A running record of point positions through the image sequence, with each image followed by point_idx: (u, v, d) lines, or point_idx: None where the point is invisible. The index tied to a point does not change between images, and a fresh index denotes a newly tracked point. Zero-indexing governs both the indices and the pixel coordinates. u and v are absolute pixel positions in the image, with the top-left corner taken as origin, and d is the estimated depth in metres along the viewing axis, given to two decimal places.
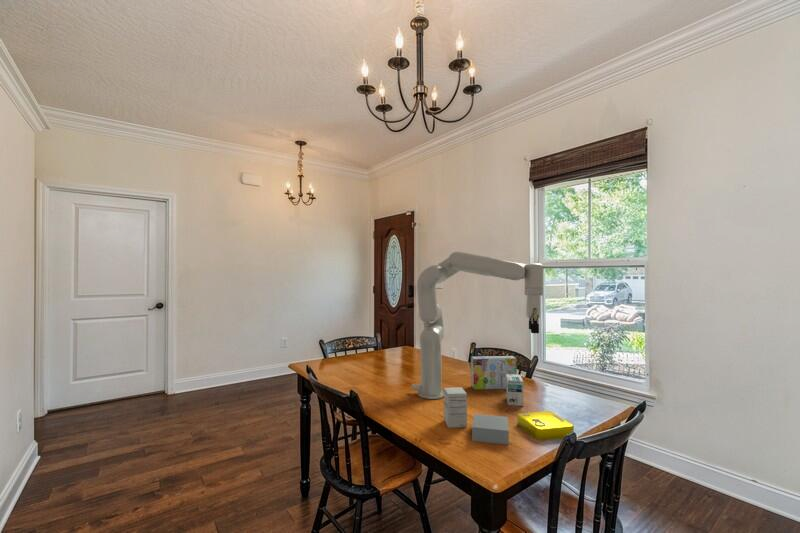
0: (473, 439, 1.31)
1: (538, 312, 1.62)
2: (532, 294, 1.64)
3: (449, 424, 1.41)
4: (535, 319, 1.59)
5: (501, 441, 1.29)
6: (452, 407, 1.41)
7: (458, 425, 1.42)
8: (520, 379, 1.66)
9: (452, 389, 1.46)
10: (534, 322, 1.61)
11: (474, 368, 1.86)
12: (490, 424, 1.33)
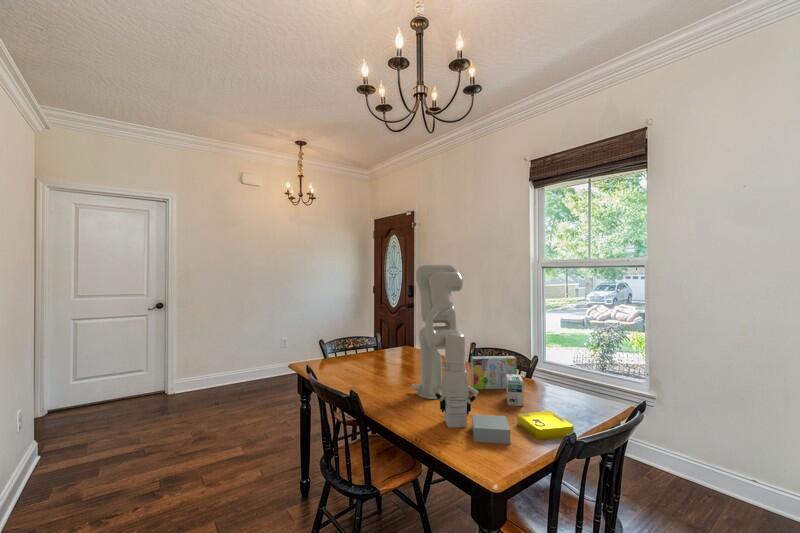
0: (475, 440, 1.30)
1: None
2: (464, 370, 1.43)
3: (449, 424, 1.41)
4: (475, 397, 1.43)
5: (503, 441, 1.29)
6: (452, 407, 1.41)
7: (458, 425, 1.42)
8: (520, 379, 1.66)
9: None
10: None
11: (474, 368, 1.86)
12: (490, 424, 1.33)
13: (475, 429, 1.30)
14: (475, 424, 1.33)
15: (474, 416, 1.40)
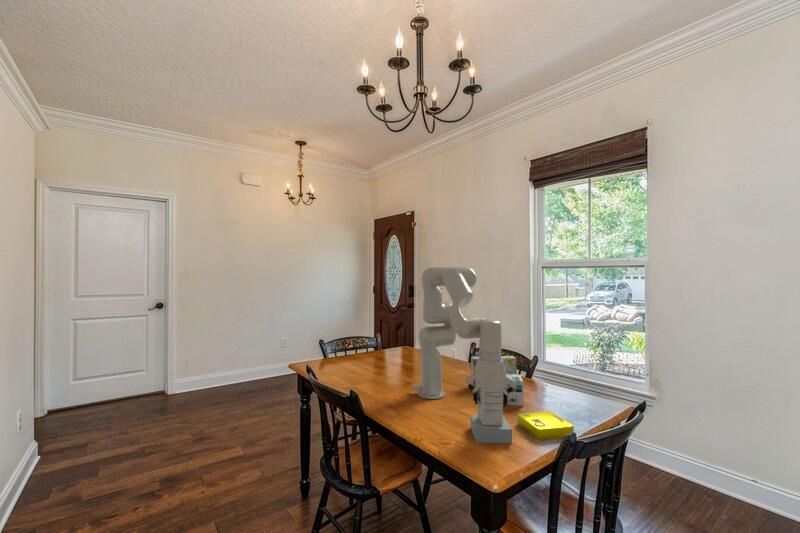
0: (477, 441, 1.29)
1: None
2: (501, 359, 1.34)
3: (484, 421, 1.32)
4: (513, 388, 1.33)
5: (505, 440, 1.29)
6: (487, 403, 1.32)
7: (493, 423, 1.32)
8: (520, 379, 1.66)
9: None
10: None
11: (474, 368, 1.86)
12: None
13: (477, 430, 1.29)
14: (476, 425, 1.32)
15: (473, 417, 1.40)
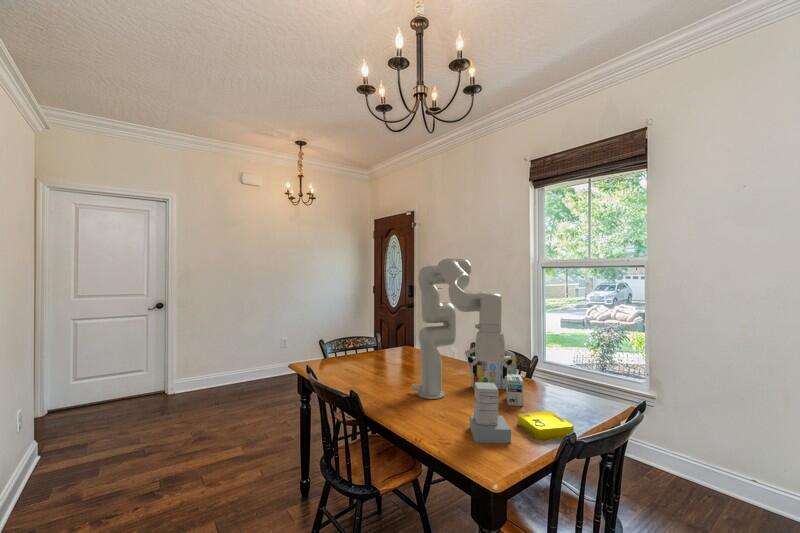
0: (476, 441, 1.30)
1: None
2: (500, 331, 1.34)
3: (478, 421, 1.33)
4: (512, 361, 1.34)
5: (504, 440, 1.29)
6: (482, 403, 1.33)
7: (488, 423, 1.33)
8: (520, 379, 1.66)
9: (483, 384, 1.37)
10: None
11: None
12: None
13: (476, 430, 1.30)
14: (475, 425, 1.32)
15: (472, 417, 1.40)
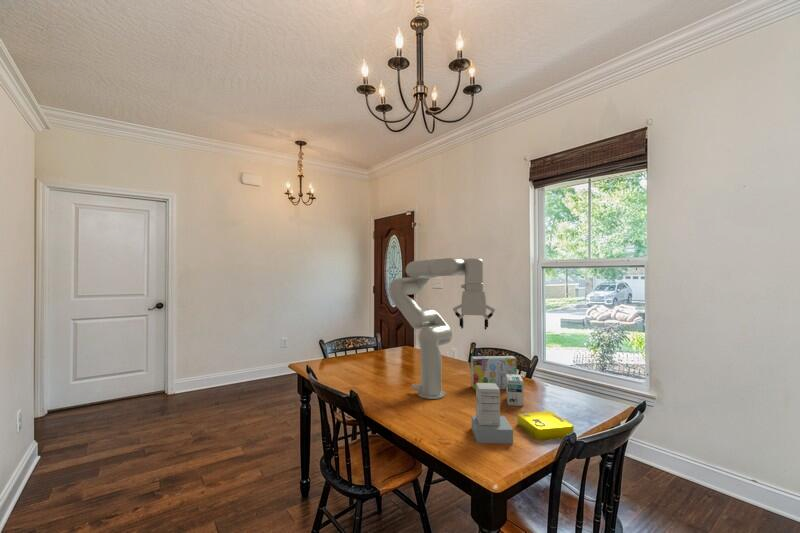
0: (478, 441, 1.29)
1: None
2: (482, 290, 1.60)
3: (480, 421, 1.32)
4: (492, 314, 1.59)
5: (506, 441, 1.29)
6: (483, 403, 1.32)
7: (490, 423, 1.32)
8: (520, 379, 1.66)
9: (484, 384, 1.37)
10: (489, 317, 1.59)
11: (474, 368, 1.86)
12: None
13: (478, 430, 1.29)
14: (477, 425, 1.32)
15: (474, 417, 1.39)
